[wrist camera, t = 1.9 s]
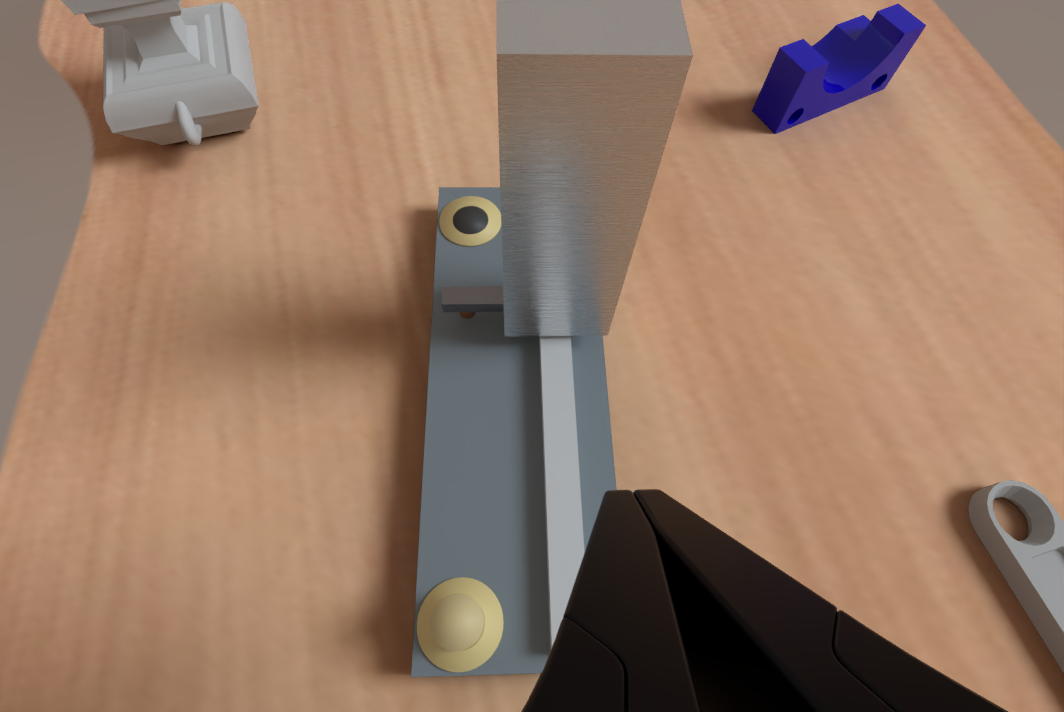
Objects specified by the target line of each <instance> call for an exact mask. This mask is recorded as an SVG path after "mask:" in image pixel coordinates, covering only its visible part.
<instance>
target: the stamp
mask: <svg viewBox="0 0 1064 712" xmlns="http://www.w3.org/2000/svg"><path fill="white" fill-rule="evenodd" d="M61 1H62V2H63V3H64V4H65V5H66V6H67V7H68V8H69V9H70V10H71V11H72V12H73V13H74V14H75V15H78V14H83V13H84V14H85V16H86V17H87V19H88V20H89V22H90V23H91V25H94V26H96V27H99V28H103V27H104V55H103V110H104V114H105V119H106V122H107V124H108V126H109V127H110V129H111V131H112V133H114V134H120V135H123V136H126V137H129V138H134V139H140V140H145V141H150V142H154V143H157V144H159V145H161V146H162V145H167V144H172V143H177V142H183V141H188V143H189V144H191V145H196V146H198V145H200V143H201V138H204V137H209V136H214V135H219V134H225V133H230V132H235V131H240V130H246V129H250V123H251V121H252V120H253V118H254V116H255V114H256V110H257V108H258V99H257V93H256V86H255V80H254V74H253V67H252V61H251V54H250V48H249V41H248V35H247V28H246V22H245V20H244V18H243V17H242V15H241V13H240V12H239V11H238V10H237V9H236V8H235V7H234V6H233V5H232V4H230V3H216V4H210V5H204V6H197V7H191V8H184V9H181V0H61Z"/></svg>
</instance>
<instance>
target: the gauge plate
mask: <svg viewBox="0 0 1064 712" xmlns="http://www.w3.org/2000/svg"><path fill="white" fill-rule="evenodd" d="M487 286H503V265H502V229H501V193H500V188H439V201H438V218H437V236H436V253H435V270H434V288H433V305H432V323H431V340H430V358H429V375H428V392H427V410H426V427H425V445H424V462H423V479H422V497H421V514H420V532H419V549H418V567H417V584H416V601H415V619H414V636H413V654H412V671H411V677H439V676H471V675H502V674H534V673H542V671H543V669H544V666H545V664H546V661H547V659H548V656H549V654H550V651H551V648H552V646H553V643H554V641H555V638H556V635H557V632H558V629H559V626H560V623H561V621H562V619H563V616H564V613H565V610H566V607H567V604H568V601H569V598H570V595H571V592H572V589H573V586H574V583H575V580H576V577H577V574H578V571H579V568H580V565H581V562H582V559H583V556H584V553H585V550H586V547H587V544H588V541H589V538H590V535H591V532H592V529H593V526H594V523H595V520H596V517H597V514H598V511H599V508H600V505H601V502H602V499H603V496H604V493H605V492H606V491H608V490H616V479H615V468H614V457H613V446H612V435H611V424H610V413H609V402H608V391H607V380H606V369H605V358H604V347H603V336H504V312H476V314H475V315H474V316H473V317H472V318H469V319H465V318H462V317H461V316H460V314H459V312H443V309H442V305H441V304H442V287H487Z"/></svg>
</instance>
